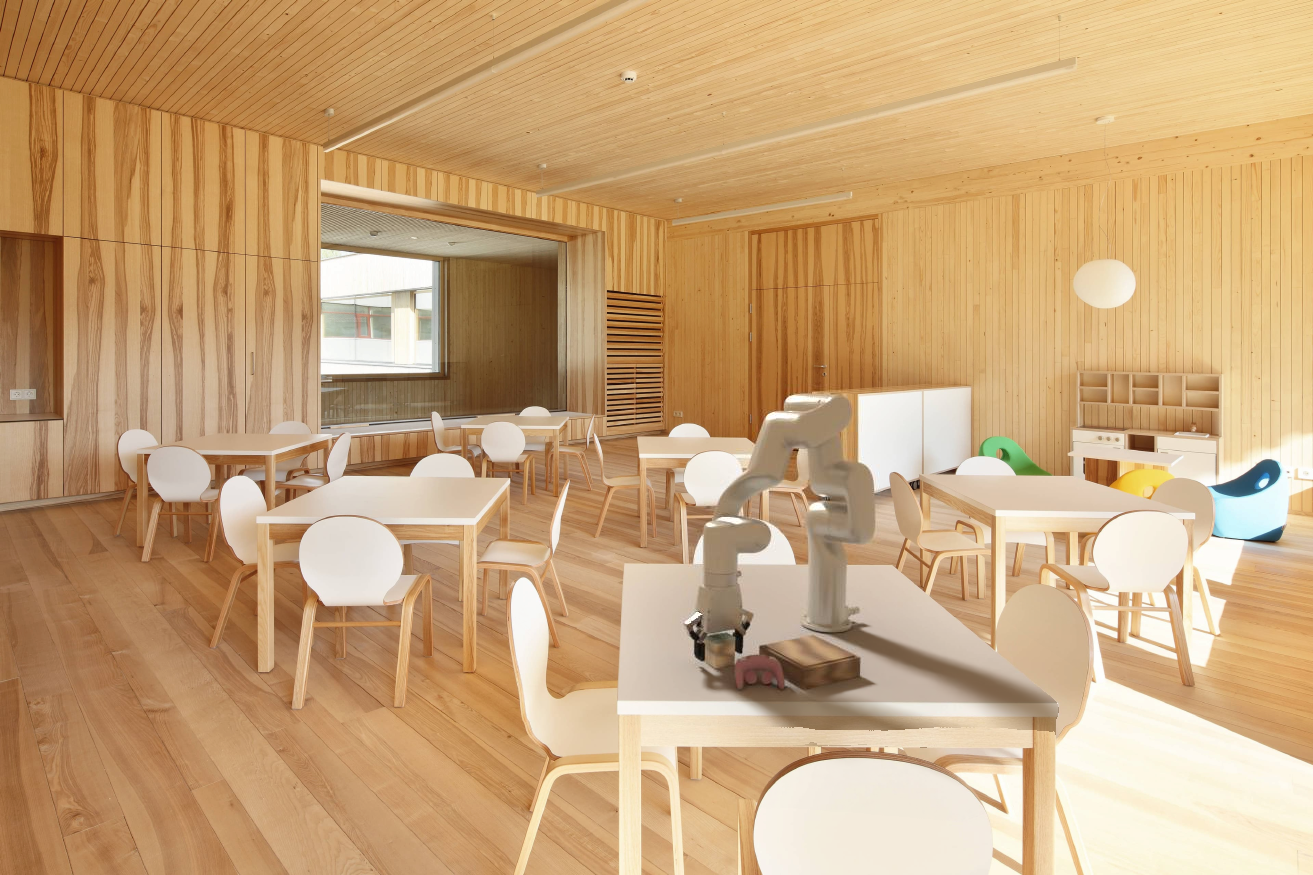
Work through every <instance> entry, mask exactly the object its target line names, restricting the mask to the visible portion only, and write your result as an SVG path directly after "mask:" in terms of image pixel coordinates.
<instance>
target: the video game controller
mask: <svg viewBox="0 0 1313 875" xmlns="http://www.w3.org/2000/svg"><path fill="white" fill-rule="evenodd" d="M756 670H757V671H762V673H761V674H760V681H761V683H763V684H764V685H769V684H771V682H772V680H773V678H774V679H775V681H776V683H777V686H778V687H779V689H780V690H781V691H782V690H784V689H785V687H786V686H785V685H786V684H785V682H786V681H785V678H784V674H783V670H782V667H781V664H780V662H779V661H778V660H777V659H775V658H774V657H771V656H767V655H759V653H758V654H750V655H747V656H742V657H740V658H739V659H737V660H736V661H735V665H734V677H735V679H734V680H735V684H736V687H737V689H738V690H739V691H742V690H743V688H744V683H745V682H746V683H747V684H748V685H752V684H755V683H756V682H757V680H758V678H757V677H758V676H757V674H756V673H755V672H754V671H756ZM744 681H745V682H744Z"/></svg>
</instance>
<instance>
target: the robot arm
mask: <svg viewBox="0 0 1313 875" xmlns="http://www.w3.org/2000/svg"><path fill="white" fill-rule="evenodd" d="M852 417H853V406H852V404H851V402H850V400H849V399H848V398H847V397H846V396H844V395H842V394H837V393H833V394H832V393H831V394H830V393H795V394H793V395H792V394H791V395H790V396H788V397H787V398H786V399H785V400H784V403H783V410H776V411H773V412H770V413H768V414H767V415H766V417H765V418H764V420H763V422H762V425H761V428H760V430H759V434H758V435H757V439H756V442H755V445H754V447H753V449H752V453H751V456H750V459H749V461H748V464H747V467H746V469H745V470H744V471H743V472H742V473H741V474H739V476H738V477H736V478H735V479H734V480H733V481H732V482H731V483H730V484H729V485H728V486H727V487H726V489H725V490H724V491H723V492H722V493H721V496H720V497H719V499H718V502H717V503H716V505H715V506H716V507H715V509H714V512H713V515H712V518H711V521H708V522H706V523H705V524H704V526H703V531H702V534H703V535H702V583H699V585H698V588H697V593H696V596H695V597H696V598H695V604H694V605H695V606H694V615H693V616H691V617H690V618H689V619H688V620H686V621H685V622H684V623H683V627H684V629H685V631H686V634H687V635H688V636H689V637H690V638H691V639H692V640H693V654H694V658H695V659H697V660H698V661H700V662H704V660H705V643H703V641H704V639H705V638H706V636H707V635H708V633H716V632H722V631H725V632H726V631H732V630H733V632H732V634H731V635H732V636H734V637H735V653H737V654H739V655H742V654H743V650H744V649H743V648H744V636H746V634H747V630H748V629H749V628H750V626H751V623H752V621H753V618H754V613H753V612H751V611H749V610H747V609H745V608H744V607H743V598H742V590H741V587H740V583H738V581H739V579H738V578H741V577H742V572H741V570H738V565H739V564H738V563H739V562H738V560H739V558H738V557H739V554H757V553H760V552H762V551H764V550H766V549H767V548H768V547H769V545H770V543H771V539H772V532H771V529H770V527H769V526H768V525H767V524H766V522H764V521H763V520H760V519H756V518H752V517H747V516H742V515H739V514H740V512H741V510H742V508H743V506H744V505H745V504H746V503H747V502H748V500H750V499H752V497H754V496H755V495H757V494H760V493H761V492H764V491H767V490H769V489H771V488H774V487H777V486H778V485H780V484H781V483H782V482H783V480H784V478H785V474H786V471H787V469H788V466H789V463H790V459H791V458H792V457H791V456H792V453H793V451H794V449H797V450H798V449H801V450H807V451H806V452H807V467H808V468H807V470H808V480H809V481H808V482H809V488H810V490H811V492H813V494H815V495H817V496H820V497H824V498H829V499H836V500H837V499H838V500H844V501H845V502H846V503H844V502H838V501H831V500H819V501H815V502H813V503H811V504H810V505H809V506H808V508H807V510H806V512H805V514H804V515H805V517H804V522H805V523H804V525H805V530H806V536H807V542H808V558H807V560H808V563H807V598H806V599H807V602H806V603H807V604H806V607H807V609H806V614H803V615H802V616H801V618H800V624H801V625H802V626H803V627H804V628H807V629H809V630H812V631H815V632H820V633H821V632H822V633H842V632H846V631H849V630H851V629H852V624H853V623H852V620H850V617H851V615H853V616H855V615H859V614H860V612H861V611H860V610H861V609H860V608H859V606H851V607H849V606H848V605H847V574H848V572H847V571H848V557H847V556H848V555H847V552H846V548H845V547H844V544H843V543H845V544H850V545H855V546H864V545H866V544H868V543H869V542H871V541H872V539H873V537H874V536H875V531H876V502H875V480H874V477H873V474H872V472H871V470H870V468H869V467H868V466H867V465H866V464H864V463H862V462H859V461H853V460H852V461H851V460H845V458H844V453H843V443H842V438H841V435H840V433H842V432H843V431H844V430H845V429H846V428H847V427H848V426H849V425H850V424H849V423H851V420H852ZM743 616H744V617H743ZM694 627H695V628H696V629H695V630H694Z"/></svg>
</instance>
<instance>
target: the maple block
mask: <svg viewBox="0 0 1313 875" xmlns="http://www.w3.org/2000/svg"><path fill="white" fill-rule="evenodd" d="M703 643H705V660H704V661H703V662H705V663H706V664H708V665H709V666H711V667H712V668H714V669H719V668H725V667H730V666H735V663H736V659H735V658H736V652H735V637H734V636H732V634H730V633H728V632H726V631H722V632H716V633H708V635H707V636H706V638H705V639H704V641H703Z"/></svg>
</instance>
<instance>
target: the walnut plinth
mask: <svg viewBox="0 0 1313 875" xmlns="http://www.w3.org/2000/svg"><path fill="white" fill-rule="evenodd" d="M758 649H759V650H758V655H767V656H771V657H774V658H775V659H777V660H778V661H779V662H780V664H781V667H782V670H783V674H784V680H786V681H789V682H790V683H792V684H793V685H795V686H797V687H799V688H801V689H802V690H806V689H810V688H815V687H819V686H823V685H827V684H832V683H836V682H840V681H845V680H848V679H854V678H857V676H858V677H860V676H861V660H862V659H861V656H858V655H857V654H854V653H852V652H850V651H848V650H846V649H845V648H841V647H840V646H837V645H836V644H833V643H831V642H829V641H827V640H824V639H823V638H820V637H819V636H816V635H814V634H813V635H812V634H811V635H808V636H807V635H806V636H802V637H796V638H791V639H788V640H781V641H776V642H771V643H766V644H760V645H759V646H758Z"/></svg>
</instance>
